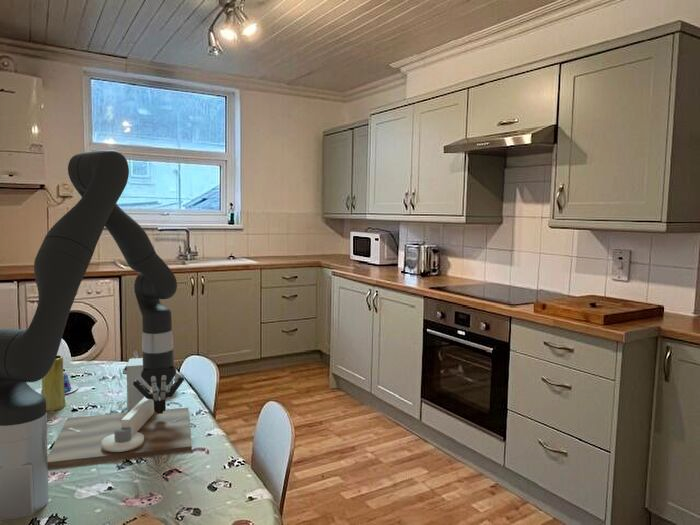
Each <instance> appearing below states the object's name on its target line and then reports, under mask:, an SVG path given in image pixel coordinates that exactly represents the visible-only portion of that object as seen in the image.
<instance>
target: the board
mask: <svg viewBox="0 0 700 525" xmlns="http://www.w3.org/2000/svg"><path fill="white" fill-rule="evenodd" d="M189 412H190V411H189V407H179V408H167V409H165V411H163V414H157V412H154V413H153V415H152V416H151V417H150V418H149V419H148V420H147V421H146V422H145V424H144V425H143V426H142V427H141V428H140V429H139V430H138V431H137V432H139V433H141V434H143V435H144V443H143V444H142V445H141V446H139V447H137V448H135V449H132V450H129V451H124V452H108V451H105V450H103V449H102V440H103V439H104V438H105V437H107V436H109V435H112V434H114V431H115V430H116V429H118V428H121V419H123V418H124V417H125V416H126V415H127V414H128V413H129V412H121V413H111V414H100V415H99V414H97V415H87V416H76V417H68V418H66V421H65V422H64V424H63V425H62V428H61V430H60V433H58V436H57V438H56V440H55V442H54V444H52V445H53V446H52V448H51V449H50V451H49V454H48V469H50V468H59V467H67V466H74V465H75V466H76V465H82V464H92V463H101V462H107V461H108V462H109V461H119V460H125V459H133V458H143V457H150V456H151V457H152V456H158V455H160V456H161V455H167V454H168V455H169V454H174V453H175V454H176V453H185V452H192V447H193V446H192V436H191V434H192V433H191V423H190V413H189Z"/></svg>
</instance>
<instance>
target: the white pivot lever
mask: <svg viewBox="0 0 700 525" xmlns="http://www.w3.org/2000/svg"><path fill="white" fill-rule="evenodd" d="M150 392H151V393H153V392H152V391H150ZM154 412H155V411H154V401H153V400H152V399H147V398H146V397H144V398H143V399H142V400H141V401H140V402H139V403H138V404H137V405H136V406H135V407H134V408H133V409H132V410H131V411H128V412H127V413H128V414H127V415H126V416H125V417H124V418H123V419H121V428H118V429H116V430H115V431H114V434H112V435H109V436H107V437H105V438H104V439H103V440H102V449H103V450H105V451H108V452H124V451H129V450H132V449H135V448H137V447H139V446H141V445H142V444H143V443H144V435H143V434H141V433H139V432H137V431H138V430H139V429H140V428H141V427H142V426H143V425H144V424H145V422H146V421H147V420H148V419H149V418H150V417H151V416H152V415H153V413H154Z"/></svg>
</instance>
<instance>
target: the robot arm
mask: <svg viewBox="0 0 700 525" xmlns="http://www.w3.org/2000/svg"><path fill="white" fill-rule="evenodd" d="M67 175H68V176H69V180H70V182H71V184H72V186H73V187H74V189H75V190H76V191H77V193H78V194H79V195H80V197H81V198H80V200H78V201H77V203H76V204H75V205H74V206H73V207H72V208H70V209H69V210H68V211H67V212H66V213H64V215H63V216H61V218H60V219H59V220H57V221H56V222H55V223H54V224H53V225H52V227H51V228H50V229H49V230H48V231H47V233H46V235H45V237H44V238H43V241H42V243H41V245H40V247H39V249H38V251H37V253H36V256H35V258H34V263H33V273H34V279H35V283H36V288H37V295H38V303H37V307H36V310H35V312H34V315H33V317H32V319H31V322H30V324H29V326H28V327H27V329H18V328H0V521H6V520H8V521H9V520H14V519H21V518H27V517H33V516H34V515H35V513H37V512H39V511H40V510H42V509H43V508H45V506H46V505H47V504H48V503H49V501H50V500H49V497H50V496H49V494H50V493H49V468H48V455H49V454H48V452H49V451H48V420H47V419H48V413H47V412H48V411H47V410H46V399H45V398H44V396H42V395H41V394H39V393H38V392H36V391H35V390H34V389H33V388H32V387H31V386H30V385H29V384H28V383H37V382H39V381H42V378H43V377H45V376H46V374H47V373H48V372H49V371H50V369H51V367H52V365H53V363H54V361H55V358H56V356H57V355H58V353H59V351H60V350H59V349H60V346H61V343H62V339H63V336H64V333H65V328H66V326H67V322H68V318H69V315H70V312H71V309H72V306H73V304H74V301H75V299H76V297H77V294H78V291H79V288H80V287H81V284H82V282H83V279H84V276H85V274H86V273H87V270H88V268H89V265H90V263H91V260H92V257H93V255H94V253H95V249H96V247H97V245H98V242H99V239H100V237H101V236H102V233H103V230H104V228H106V229H107V231H108V233H109V234H110V235H111V237H112V238H113V240H114V241H115V243H116V245H117V247H118V249H119V251H120V252H121V254H122V256H123V258H124V260H125V261H126V263H127V265H128V266H129V268H130V269H132V271H134V272H138V274H137V275H136V277H135V280H134V287H133V289H134V294H135V297H136V301H137V305H138V308H139V310H140V314H141V319H142V320H141V322H142V324H141V325H142V336H141V337H142V338H141V351H142V352H141V353H142V355H141V356H142V358H143V370H142V372H141V376H140V377H138V378H136V379H134V382H133V385H134V386H135V387H136V388H137V389H138V390H139V391H140V392H141V393H142V394H143V395H144V396H145V397H146V398H147V399H152V400H153V401H154V411H155V412H157V414H163V411H165V409H166V399H167V398H171V397H173V395H174V394H175V393H176V392H177V390H178V389H179V388H180V387H181V385H182V384H183V382H184V381H185V376H184V375H183V374H180V373H178V371H177V369H176V367H175V356H174V355H175V354H174V345H175V343H174V336H173V329H172V328H173V327H172V325H173V324H172V311H171V310H170V308H169V307H166V306H165V305H163V304H162V303H161V300H169V299H171V298H172V297H173V296H174V295H176V292H177V288H178V282H177V278H176V276H175V274H174V272H173V271H172V269H171V268H170V267H169V266H168V264H166V262H165V261H164V260H163V259H162V258H161V257H160V255H159V254H157V252H156V250H155V248H154V246H153V243H152V241H151V240H150V238H149V235H148V234H147V232H146V231H145V230H144V228H143V227H142V226H141V225H140V224H139V223H138V222H137V221H136V220H135V219H134V218H132V217H131V216H130V215H129V214H127V212H125V211H124V210H123V208H121V207H120V205H118V204H117V203H118V202H119V199H120V198H121V196H122V194H123V193H124V190H125V188H126V186H127V184H128V181H129V176H130V166H129V163H128V160H127V158H126V156H124V154H122V153H121V152H119V151H117V150H112V149H103V150H93V151H84V152H80V153H76V154H75V155H73V156H72V157H71V158H70V159H69V162H68V165H67ZM173 377H174V381H173V385H172V386H171V388H170V389H169V390H168V391H166V386H167V385H168V384H169V383H170V381H171V380H172V379H173ZM143 379H144V380H145V381H146V383H147V384H148V385H149V386H150V387H152V392H153V393H151V392H150V391H149V390H148V389H147V388H146V387H145V386H144V385H143V384H144V381H143ZM158 387H161V395H159V392H158Z"/></svg>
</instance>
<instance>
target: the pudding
mask: <svg viewBox="0 0 700 525" xmlns="http://www.w3.org/2000/svg"><path fill="white" fill-rule="evenodd" d="M63 376H64V394H65V395H67V394H70V393H72V392H75V391H76V390H78V389H79V386H78V385H77V384H74V383H70V379H69V377H68V374H67V373H64V372H63ZM34 391H36V392H38V393H39V394H41V395H42V386H41V387H38V388H36V389H35V390H34Z"/></svg>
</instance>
